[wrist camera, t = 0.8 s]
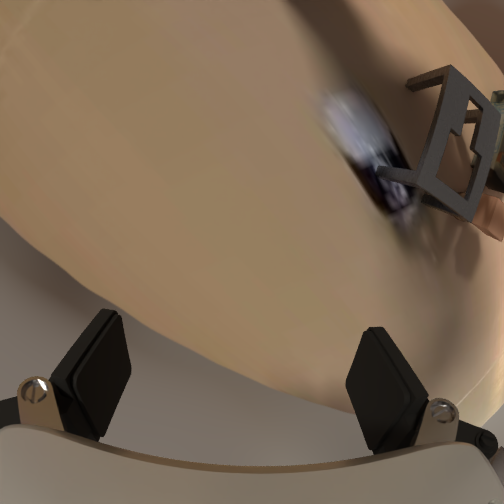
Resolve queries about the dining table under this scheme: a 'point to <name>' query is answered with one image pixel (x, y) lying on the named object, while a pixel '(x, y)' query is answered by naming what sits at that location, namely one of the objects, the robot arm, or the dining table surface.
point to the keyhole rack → (445, 121)
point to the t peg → (489, 216)
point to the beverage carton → (496, 148)
